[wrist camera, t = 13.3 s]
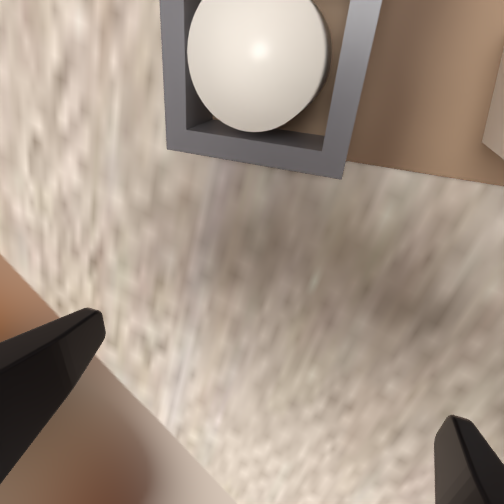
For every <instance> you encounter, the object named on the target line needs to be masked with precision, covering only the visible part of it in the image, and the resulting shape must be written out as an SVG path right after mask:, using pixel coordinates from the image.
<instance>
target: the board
mask: <svg viewBox="0 0 504 504" xmlns="http://www.w3.org/2000/svg"><path fill="white" fill-rule="evenodd" d="M312 1H313V2H314V3H315V4H316V5H317V7H318V8H319V9H320V11H321V12H322V14H323V16H324V18H325V20H326V22H327V25H328V27H329V31H330V35H331V42H332V59H331V66H330V70H329V74H328V76H327V79H326V82H325V84H324V86H323V88H322V89H321V91H320V92H319V94H318V95H317V97H316V98H315V99H314V100H313V101H312V102H311V103H310V104H309V105H308V106H307V107H306V108H305V109H303V110H302V111H301V112H300V113H298V114H297V115H296V116H295V117H293V118H292V119H291V120H289V121H288V122H287V123H285V124H283V125H281V126H279V127H277V128H275V129H282V130H289V131H295V132H302V133H309V134H316V135H322V136H325V132H326V127H327V122H328V116H329V111H330V106H331V100H332V95H333V90H334V84H335V79H336V74H337V68H338V63H339V58H340V52H341V47H342V42H343V37H344V31H345V26H346V21H347V15H348V10H349V5H350V0H312ZM503 49H504V0H382V5H381V9H380V13H379V18H378V22H377V26H376V31H375V35H374V40H373V44H372V48H371V53H370V57H369V62H368V66H367V70H366V75H365V79H364V83H363V88H362V92H361V97H360V101H359V105H358V110H357V114H356V119H355V123H354V127H353V132H352V136H351V140H350V145H349V149H348V154H347V158H346V161H351V162H357V163H363V164H369V165H376V166H382V167H388V168H394V169H400V170H407V171H413V172H419V173H425V174H431V175H438V176H444V177H450V178H456V179H462V180H469V181H475V182H481V183H487V184H493V185H500V186H504V159H502V158H501V157H500V156H499V155H497V154H496V153H495V152H493V151H492V150H491V149H490V148H488V147H487V146H486V145H485V144H483V143H482V139H483V135H484V131H485V126H486V122H487V118H488V114H489V109H490V105H491V101H492V96H493V92H494V88H495V83H496V79H497V75H498V70H499V66H500V62H501V57H502V53H503ZM213 119H214V120H219V119H217V118H216V117H215V116H214V115H213Z"/></svg>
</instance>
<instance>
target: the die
mask: <svg viewBox="0 0 504 504" xmlns="http://www.w3.org/2000/svg"><path fill="white" fill-rule="evenodd" d="M482 143H483V144H485V145H486V146H487V147H488V148H490V149H491V150H492V151H493V152H495V153H496V154H497V155H499V156H500V157H501V158H502V159H504V49H503V53H502V57H501V62H500V66H499V70H498V75H497V79H496V83H495V88H494V92H493V96H492V101H491V105H490V109H489V114H488V118H487V122H486V126H485V131H484V135H483V139H482Z"/></svg>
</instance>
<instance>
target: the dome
mask: <svg viewBox="0 0 504 504" xmlns="http://www.w3.org/2000/svg"><path fill="white" fill-rule="evenodd" d="M187 55H188V65H189V71H190V75H191V79H192V82H193V85H194V87H195V90H196V92H197V94H198V95H199V97H200V99H201V101H202V102H203V103H204V105H205V106H206V107H207V109H208V110H209V111H210V112H211V113H212V114H213V115H214V116H215V117H216V118H217V119H219V120H220V121H222V122H223V123H225V124H226V125H228V126H230V127H233V128H235V129H238V130H242V131H246V132H263V131H268V130H272V129H274V128H277V127H279V126H281V125H283V124H285V123H287V122H288V121H289V120H291V119H292V118H293V117H295V116H296V115H297V114H298V113H300V112H301V111H302V110H303V109H305V108H306V107H307V106H308V105H309V104H310V103H311V102H312V101H313V100H314V99H315V98H316V97H317V95H318V94H319V92H320V91H321V89H322V88H323V86H324V84H325V82H326V79H327V76H328V74H329V70H330V66H331V59H332V42H331V35H330V31H329V27H328V25H327V22H326V20H325V18H324V16H323V14H322V12H321V11H320V9H319V8H318V7H317V5H316V4H315V3H314V2H313V1H312V0H202V1H201V2H200V4H199V6H198V8H197V10H196V12H195V14H194V17H193V20H192V23H191V26H190V30H189V36H188V47H187Z"/></svg>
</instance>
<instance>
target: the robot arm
mask: <svg viewBox="0 0 504 504" xmlns="http://www.w3.org/2000/svg"><path fill="white" fill-rule="evenodd" d="M105 334H106V331H105V326H104V321H103V316H102V313H101V312H100V311H99V310H95V309H92V308H84V309H81V310H79V311H76V312H74V313H71V314H69V315H66V316H64V317H61V318H59V319H57V320H54V321H52V322H49V323H47V324H44V325H42V326H39V327H37V328H35V329H32V330H30V331H27V332H25V333H22V334H20V335H17V336H15V337H13V338H10V339H8V340H5V341H3V342H0V484H1V483H2V481H3V480H4V479H5V477H6V476H7V475H8V473H9V472H10V471H11V469H12V468H13V467H14V466H15V464H16V463H17V462H18V460H19V459H20V458H21V456H22V455H23V454H24V452H25V451H26V450H27V449H28V447H29V446H30V445H31V443H32V442H33V441H34V439H35V438H36V437H37V435H38V434H39V432H41V430H42V429H43V428H44V426H45V425H46V424H47V422H48V421H49V420H50V418H51V417H52V416H53V414H54V413H55V412H56V411H57V409H58V408H59V407H60V405H61V404H62V403H63V402H64V400H65V399H66V398H67V396H68V395H69V394H70V392H71V391H72V389H73V388H74V387H75V385H76V384H77V382H78V381H79V379H80V377H81V376H82V374H83V373H84V371H85V369H86V368H87V366H88V365H89V363H90V361H91V360H92V358H93V357H94V355H95V353H96V352H97V350H98V349H99V347H100V345H101V344H102V342H103V340H104V338H105ZM434 462H435V504H504V464H503V463H502V462H501V460H500V459H499V458H498V456H497V455H496V454H495V452H494V451H493V449H492V448H491V447H490V445H489V444H488V443H487V441H486V440H485V439H484V437H483V436H482V435H481V433H480V432H479V430H478V429H477V428H476V426H475V425H474V424H473V423H472V422H471V421H470V420H468V419H465V418H462V417H459V416H455V415H450V416H448V417H447V418H446V420H445V421H444V423H443V425H442V426H441V428H440V429H439V431H438V432H437V434H436V436H435V441H434Z"/></svg>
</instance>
